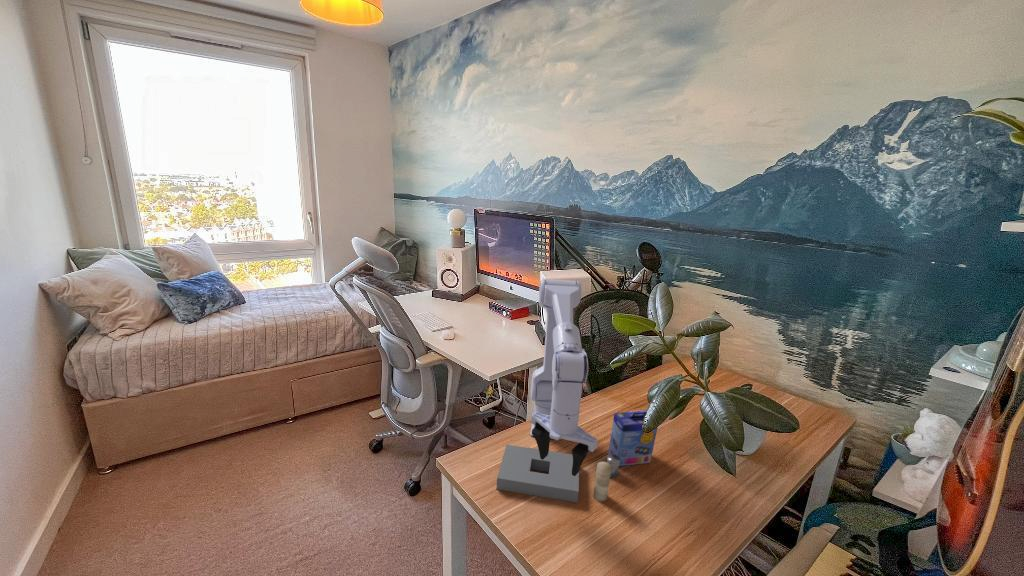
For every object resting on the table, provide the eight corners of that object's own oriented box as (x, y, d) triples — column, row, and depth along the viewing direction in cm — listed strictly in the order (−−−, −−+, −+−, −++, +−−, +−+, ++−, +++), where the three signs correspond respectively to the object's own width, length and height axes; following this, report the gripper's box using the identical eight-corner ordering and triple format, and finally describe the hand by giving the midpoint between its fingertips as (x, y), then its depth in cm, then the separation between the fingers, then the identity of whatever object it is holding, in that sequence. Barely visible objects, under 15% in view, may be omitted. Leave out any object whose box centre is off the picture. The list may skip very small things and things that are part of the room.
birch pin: (593, 490, 94) (597, 460, 91) (606, 492, 93) (610, 462, 91) (593, 500, 91) (597, 469, 89) (607, 502, 90) (611, 472, 88)
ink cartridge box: (616, 468, 101) (624, 416, 97) (606, 453, 106) (613, 403, 103) (652, 463, 104) (661, 413, 100) (641, 449, 109) (649, 401, 105)
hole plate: (505, 454, 104) (506, 444, 103) (577, 466, 101) (579, 455, 100) (496, 489, 92) (497, 477, 91) (577, 502, 90) (578, 491, 89)
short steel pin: (604, 469, 101) (606, 453, 100) (617, 470, 100) (619, 455, 99) (605, 477, 98) (607, 461, 97) (618, 479, 97) (620, 463, 96)
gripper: (524, 402, 84) (520, 459, 88) (589, 431, 76) (581, 492, 80) (543, 389, 89) (538, 443, 93) (605, 414, 81) (597, 472, 85)
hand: (559, 464), depth 87 cm, fingers open, 7 cm apart
